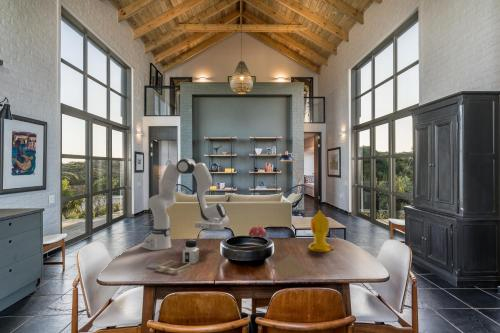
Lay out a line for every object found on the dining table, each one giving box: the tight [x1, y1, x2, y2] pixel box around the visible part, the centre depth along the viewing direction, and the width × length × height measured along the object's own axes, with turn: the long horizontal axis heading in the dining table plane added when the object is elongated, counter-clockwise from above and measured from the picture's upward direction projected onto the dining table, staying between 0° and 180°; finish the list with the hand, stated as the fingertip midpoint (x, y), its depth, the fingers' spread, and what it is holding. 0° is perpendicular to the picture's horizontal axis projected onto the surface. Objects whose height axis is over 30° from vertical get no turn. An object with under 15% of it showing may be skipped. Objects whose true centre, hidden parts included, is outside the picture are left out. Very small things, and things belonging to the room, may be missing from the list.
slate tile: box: [145, 263, 161, 270], centre depth 167 cm, size 6×6×2 cm
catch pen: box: [156, 259, 192, 275], centre depth 164 cm, size 14×13×2 cm
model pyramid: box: [271, 253, 311, 278], centre depth 163 cm, size 17×17×10 cm
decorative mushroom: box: [248, 225, 267, 238], centre depth 217 cm, size 13×13×15 cm
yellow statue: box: [308, 209, 334, 253], centre depth 210 cm, size 18×24×28 cm
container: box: [182, 239, 200, 265], centre depth 178 cm, size 8×8×13 cm
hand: (202, 227), depth 189 cm, fingers closed
